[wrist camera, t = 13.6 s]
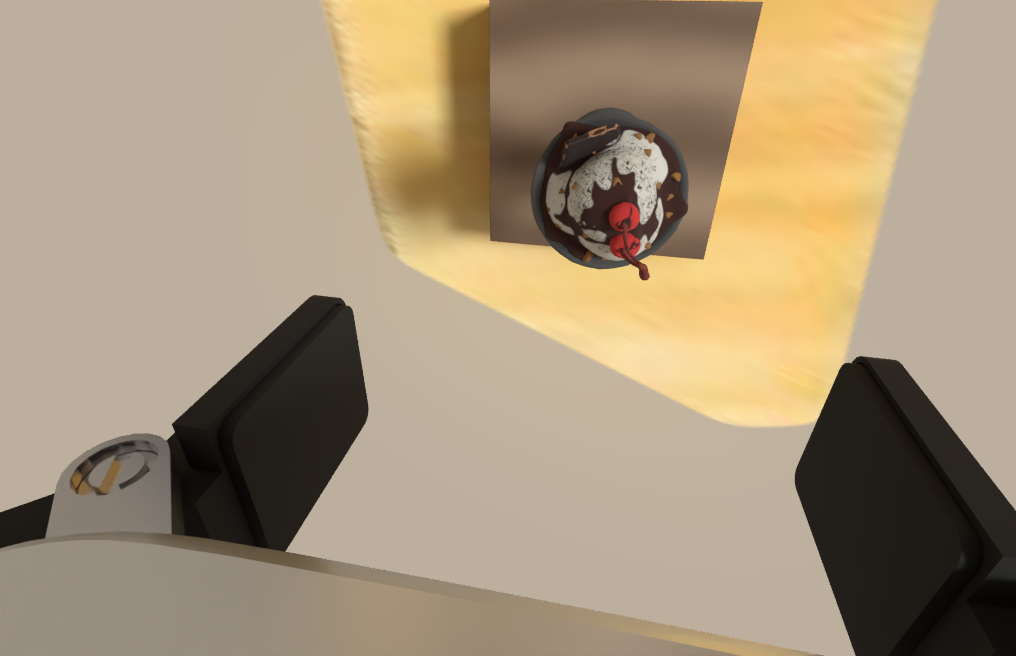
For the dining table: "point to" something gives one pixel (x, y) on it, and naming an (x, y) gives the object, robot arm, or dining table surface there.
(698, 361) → the dining table surface
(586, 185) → the sundae
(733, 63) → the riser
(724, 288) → the dining table surface
